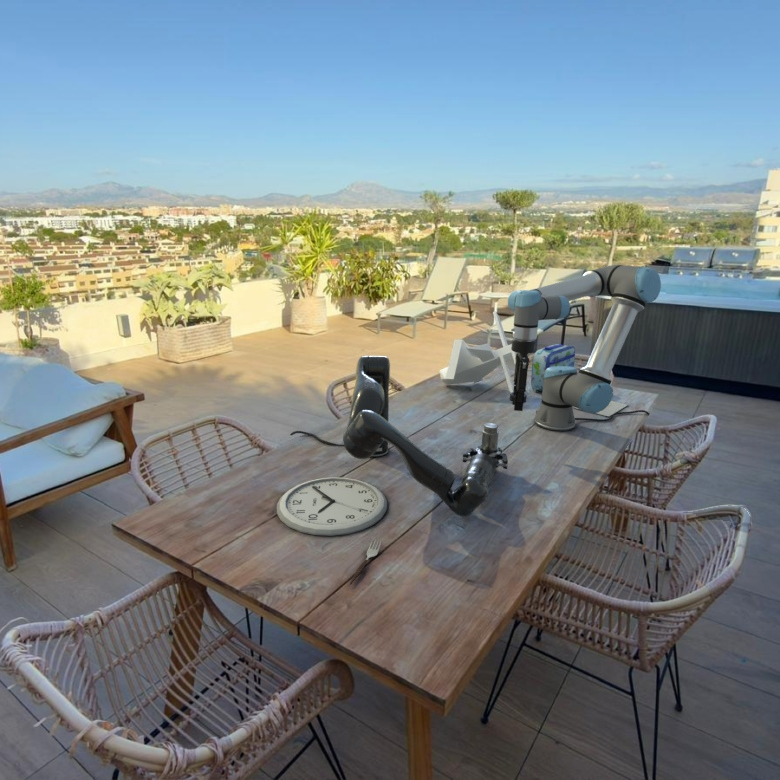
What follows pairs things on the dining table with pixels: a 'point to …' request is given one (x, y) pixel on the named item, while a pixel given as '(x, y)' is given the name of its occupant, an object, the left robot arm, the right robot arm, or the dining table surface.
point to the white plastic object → (478, 361)
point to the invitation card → (611, 408)
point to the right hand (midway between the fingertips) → (517, 407)
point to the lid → (512, 397)
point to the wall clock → (331, 506)
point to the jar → (489, 439)
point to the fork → (370, 554)
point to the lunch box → (550, 362)
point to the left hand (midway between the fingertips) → (490, 449)
